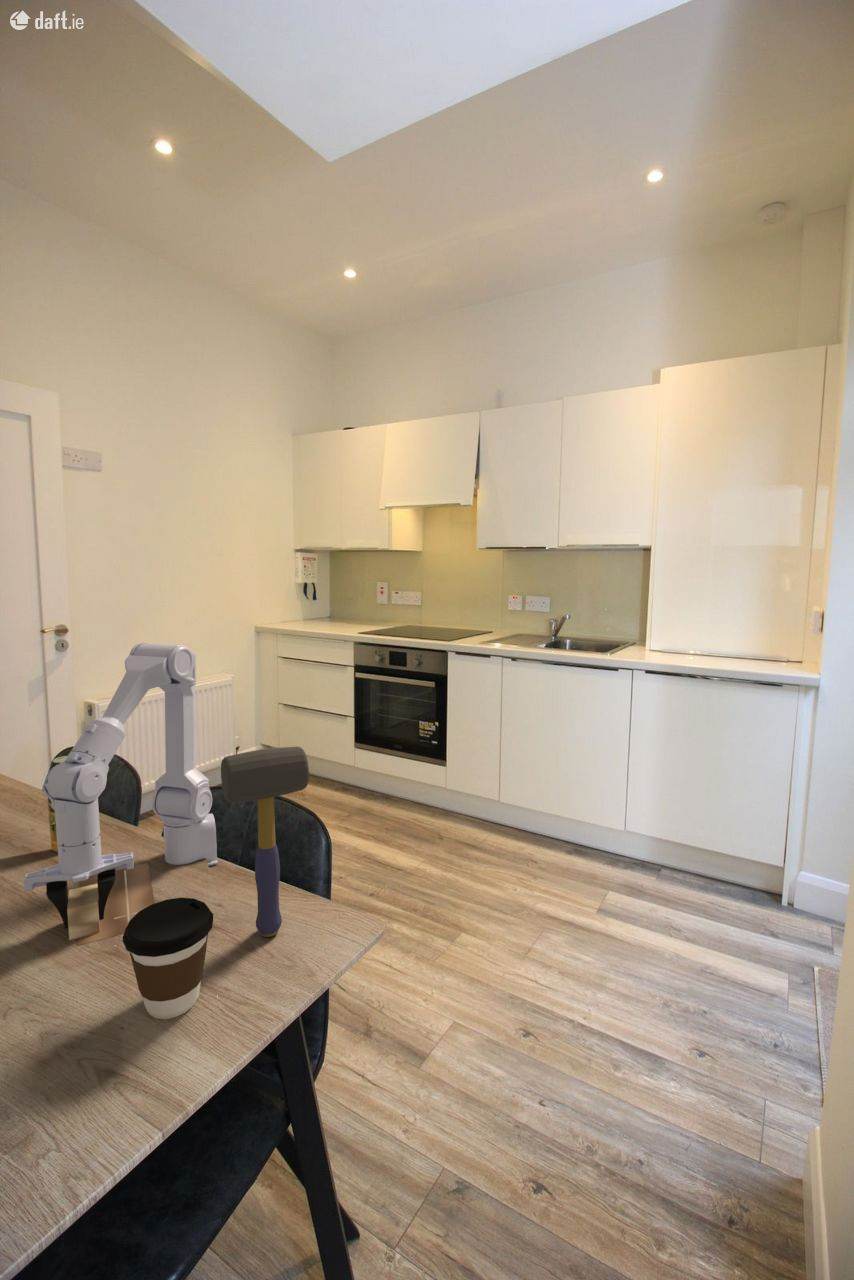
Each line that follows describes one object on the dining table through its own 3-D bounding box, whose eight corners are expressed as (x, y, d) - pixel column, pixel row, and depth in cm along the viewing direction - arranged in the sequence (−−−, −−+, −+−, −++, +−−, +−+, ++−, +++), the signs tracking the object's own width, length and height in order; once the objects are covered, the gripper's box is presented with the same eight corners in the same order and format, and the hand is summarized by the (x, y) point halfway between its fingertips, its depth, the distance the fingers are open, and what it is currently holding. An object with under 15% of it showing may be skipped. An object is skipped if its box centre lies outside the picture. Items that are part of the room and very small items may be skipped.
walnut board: (148, 870, 111) (148, 862, 111) (158, 933, 92) (157, 924, 92) (82, 884, 106) (81, 877, 106) (77, 955, 87) (77, 945, 87)
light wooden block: (100, 919, 95) (97, 883, 95) (100, 939, 90) (97, 902, 89) (71, 926, 94) (69, 889, 93) (69, 947, 88) (67, 909, 88)
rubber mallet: (233, 958, 87) (226, 763, 83) (224, 930, 93) (217, 749, 90) (314, 933, 93) (311, 751, 89) (300, 909, 99) (297, 738, 95)
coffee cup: (190, 963, 85) (187, 886, 84) (232, 998, 79) (229, 915, 77) (112, 1005, 77) (107, 921, 76) (151, 1049, 70) (146, 957, 69)
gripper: (18, 860, 83) (26, 949, 85) (132, 838, 90) (137, 920, 92) (24, 840, 89) (31, 923, 91) (130, 821, 96) (135, 898, 98)
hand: (84, 920), depth 92 cm, fingers closed on light wooden block, 4 cm apart
